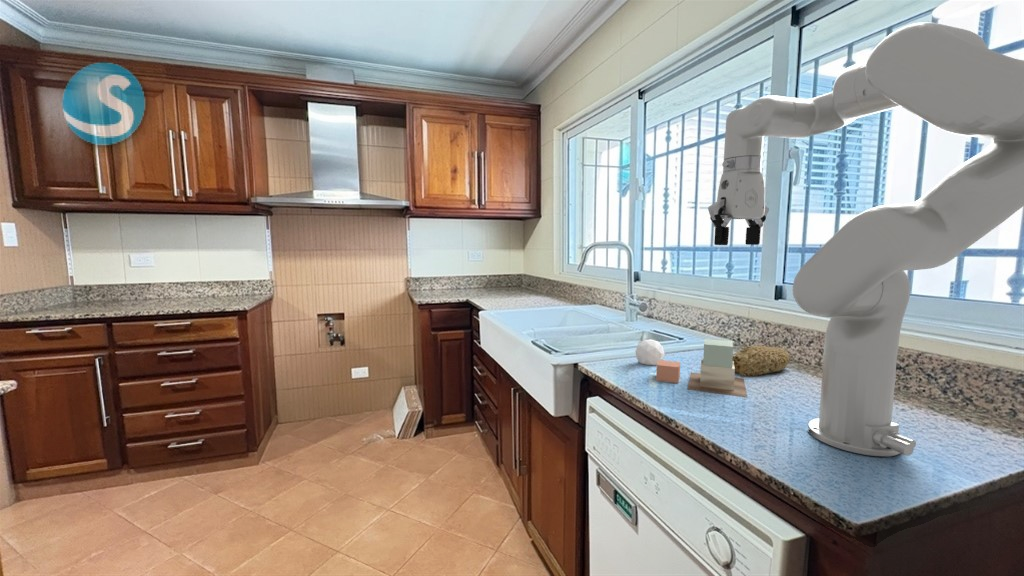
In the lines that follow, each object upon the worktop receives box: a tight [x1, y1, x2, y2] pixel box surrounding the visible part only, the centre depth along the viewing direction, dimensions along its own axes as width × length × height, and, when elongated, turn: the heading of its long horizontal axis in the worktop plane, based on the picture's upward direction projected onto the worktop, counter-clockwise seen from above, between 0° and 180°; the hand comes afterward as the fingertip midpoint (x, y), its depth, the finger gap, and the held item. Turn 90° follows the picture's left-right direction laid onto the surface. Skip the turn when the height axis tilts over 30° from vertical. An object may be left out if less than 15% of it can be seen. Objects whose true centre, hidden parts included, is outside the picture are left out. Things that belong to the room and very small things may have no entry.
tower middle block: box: [702, 338, 734, 368], centre depth 96 cm, size 6×6×5 cm
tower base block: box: [700, 357, 736, 391], centre depth 97 cm, size 7×7×5 cm
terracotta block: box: [655, 359, 681, 384], centre depth 101 cm, size 5×5×5 cm
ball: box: [634, 339, 665, 366], centre depth 115 cm, size 8×8×8 cm
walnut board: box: [687, 371, 748, 399], centre depth 97 cm, size 14×12×1 cm
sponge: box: [733, 345, 791, 377], centre depth 110 cm, size 13×8×20 cm
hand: (736, 244), depth 93 cm, fingers open, 9 cm apart
